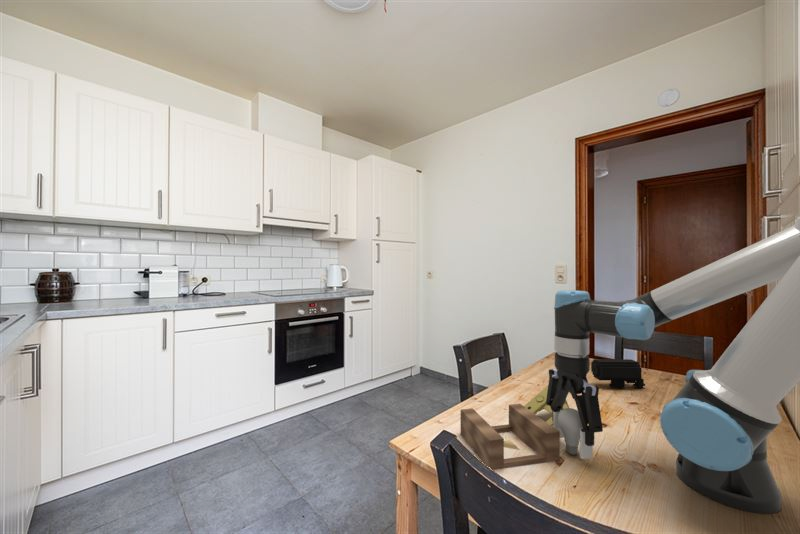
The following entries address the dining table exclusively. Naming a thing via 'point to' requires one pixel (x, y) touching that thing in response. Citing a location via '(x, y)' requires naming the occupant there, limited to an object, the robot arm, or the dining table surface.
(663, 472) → the dining table surface
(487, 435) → the brown open rectangular frame
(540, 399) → the bracket
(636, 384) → the security camera
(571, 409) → the lightbulb
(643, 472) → the dining table surface
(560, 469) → the dining table surface
